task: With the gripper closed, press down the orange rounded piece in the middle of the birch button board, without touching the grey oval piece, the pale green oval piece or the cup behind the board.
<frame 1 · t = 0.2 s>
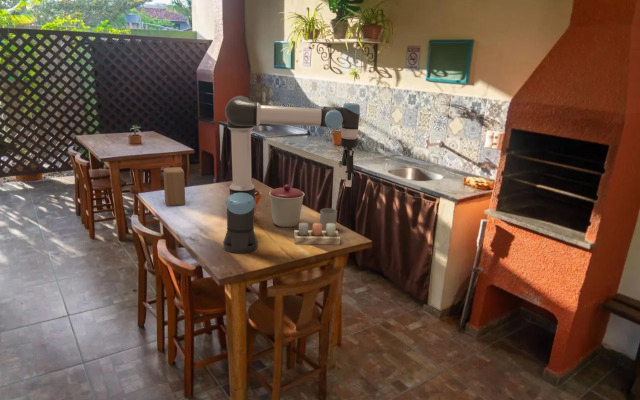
hand: (345, 182, 211), 27 cm above the table, tool pointing down, fingers open, 13 cm apart
pale green oval piece: (330, 229, 213), point 5 cm above the table, slide at 0.0 cm
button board: (316, 240, 214), on the table
grey oval piece: (303, 229, 211), point 6 cm above the table, slide at 0.0 cm
cup: (327, 229, 229), on the table
orange rounded piece: (317, 229, 212), point 6 cm above the table, slide at 0.0 cm
block: (175, 203, 256), on the table
canister: (285, 224, 233), on the table
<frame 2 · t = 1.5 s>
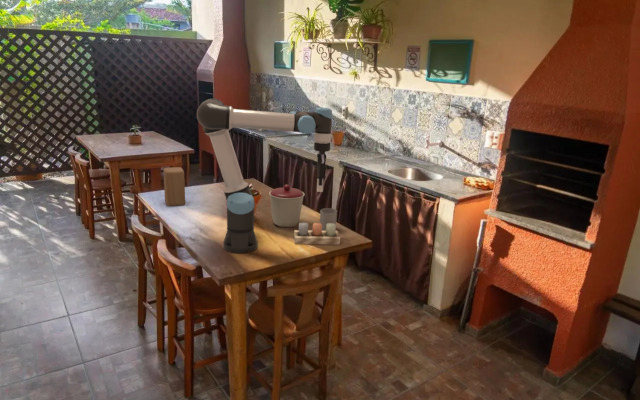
hand: (319, 191, 214), 22 cm above the table, tool pointing down, fingers closed
nothing on the table moved.
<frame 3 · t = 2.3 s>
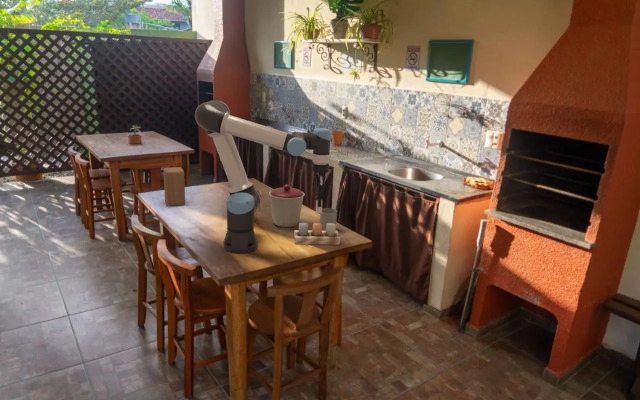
hand: (318, 212, 210), 14 cm above the table, tool pointing down, fingers closed
nothing on the table moved.
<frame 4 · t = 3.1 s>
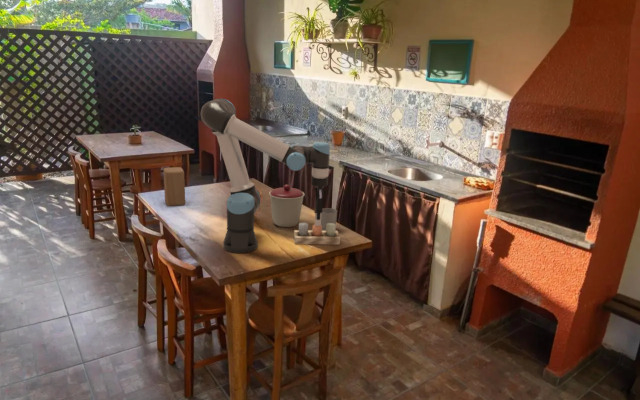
hand: (317, 225, 211), 8 cm above the table, tool pointing down, fingers closed
orange rounded piece: (317, 230, 212), point 5 cm above the table, slide at 0.8 cm, touching gripper
everything else where it was.
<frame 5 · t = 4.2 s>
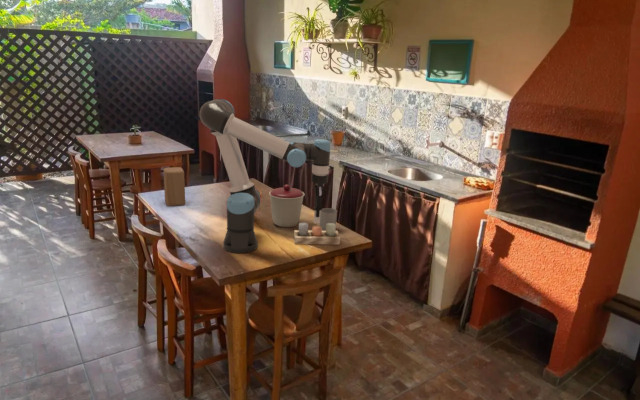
hand: (316, 222, 211), 9 cm above the table, tool pointing down, fingers closed
orange rounded piece: (316, 232, 212), point 4 cm above the table, slide at 1.8 cm
everything else where it was.
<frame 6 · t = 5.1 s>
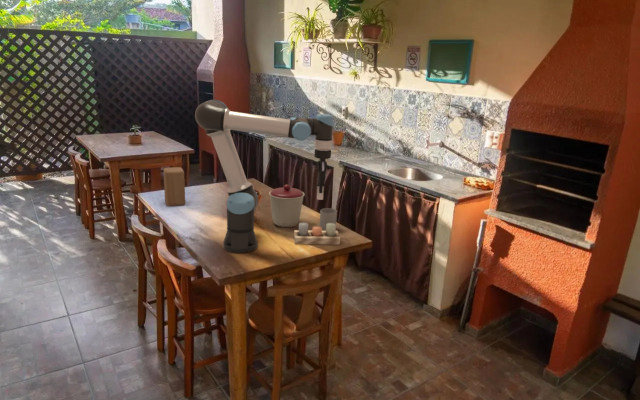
hand: (319, 199, 210), 20 cm above the table, tool pointing down, fingers closed
nothing on the table moved.
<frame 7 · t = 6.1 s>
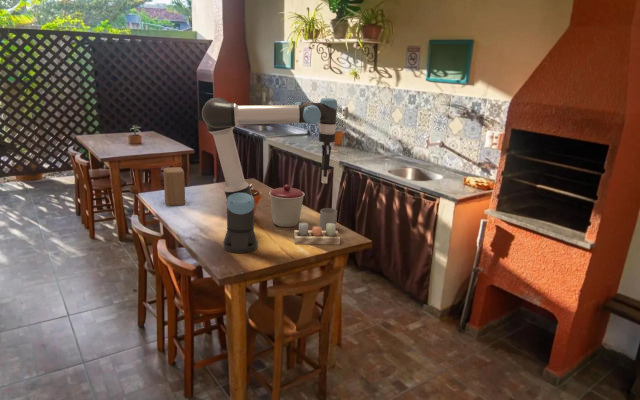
hand: (324, 182, 213), 26 cm above the table, tool pointing down, fingers closed
nothing on the table moved.
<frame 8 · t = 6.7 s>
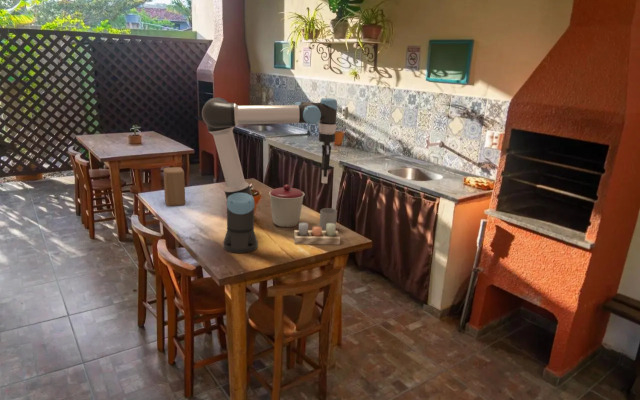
hand: (324, 182, 213), 26 cm above the table, tool pointing down, fingers closed
nothing on the table moved.
at the end: orange rounded piece slide at 1.8 cm; grey oval piece slide at 0.0 cm; pale green oval piece slide at 0.0 cm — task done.
